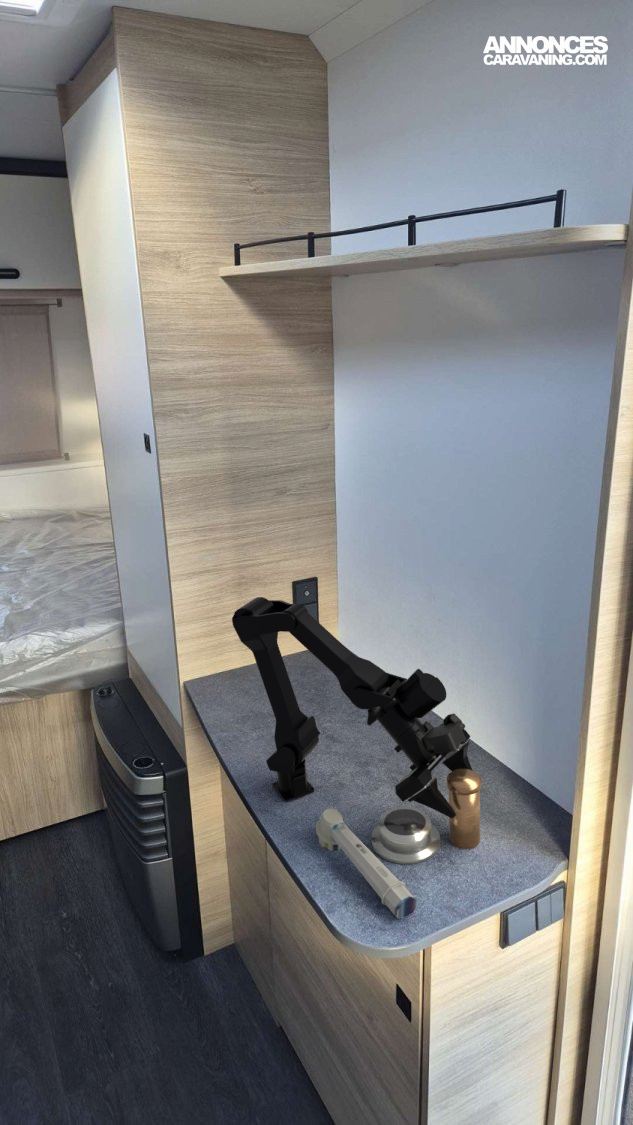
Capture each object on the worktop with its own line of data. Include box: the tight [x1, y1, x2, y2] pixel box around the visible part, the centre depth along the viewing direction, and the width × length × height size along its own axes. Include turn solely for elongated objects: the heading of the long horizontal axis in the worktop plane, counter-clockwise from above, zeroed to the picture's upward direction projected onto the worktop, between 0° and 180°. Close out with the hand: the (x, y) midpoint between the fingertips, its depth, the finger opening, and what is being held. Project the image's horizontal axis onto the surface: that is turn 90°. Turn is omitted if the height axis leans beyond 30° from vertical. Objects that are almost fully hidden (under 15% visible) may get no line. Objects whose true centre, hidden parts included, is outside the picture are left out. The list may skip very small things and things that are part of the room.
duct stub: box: [370, 805, 441, 866], centre depth 138 cm, size 12×12×4 cm
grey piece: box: [315, 808, 418, 920], centre depth 131 cm, size 5×7×25 cm
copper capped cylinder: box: [446, 769, 483, 850], centre depth 136 cm, size 6×6×12 cm
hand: (465, 802), depth 135 cm, fingers open, 9 cm apart
